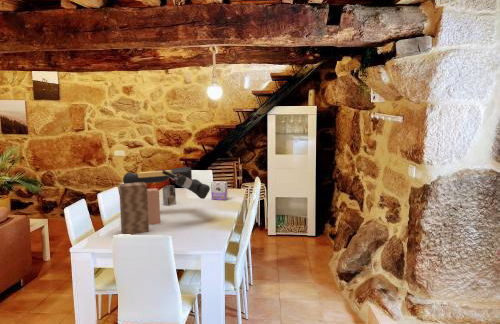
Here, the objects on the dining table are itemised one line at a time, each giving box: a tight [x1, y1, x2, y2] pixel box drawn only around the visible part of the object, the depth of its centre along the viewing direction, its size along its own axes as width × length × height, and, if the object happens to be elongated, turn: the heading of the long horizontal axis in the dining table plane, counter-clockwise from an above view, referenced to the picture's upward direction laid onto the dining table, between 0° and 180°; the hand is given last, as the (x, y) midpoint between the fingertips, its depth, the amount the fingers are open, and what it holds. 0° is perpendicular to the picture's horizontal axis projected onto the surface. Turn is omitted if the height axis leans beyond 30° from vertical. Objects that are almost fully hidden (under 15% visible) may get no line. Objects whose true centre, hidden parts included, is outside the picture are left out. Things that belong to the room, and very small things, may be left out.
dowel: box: [137, 169, 172, 178], centre depth 259 cm, size 22×4×3 cm, turn 116°
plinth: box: [118, 182, 150, 235], centre depth 254 cm, size 16×10×32 cm, turn 117°
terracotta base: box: [147, 187, 161, 226], centre depth 275 cm, size 9×9×24 cm
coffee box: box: [162, 184, 177, 207], centre depth 329 cm, size 9×6×16 cm
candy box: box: [210, 180, 229, 201], centre depth 346 cm, size 14×6×16 cm, turn 76°
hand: (162, 171), depth 261 cm, fingers closed on dowel, 3 cm apart
